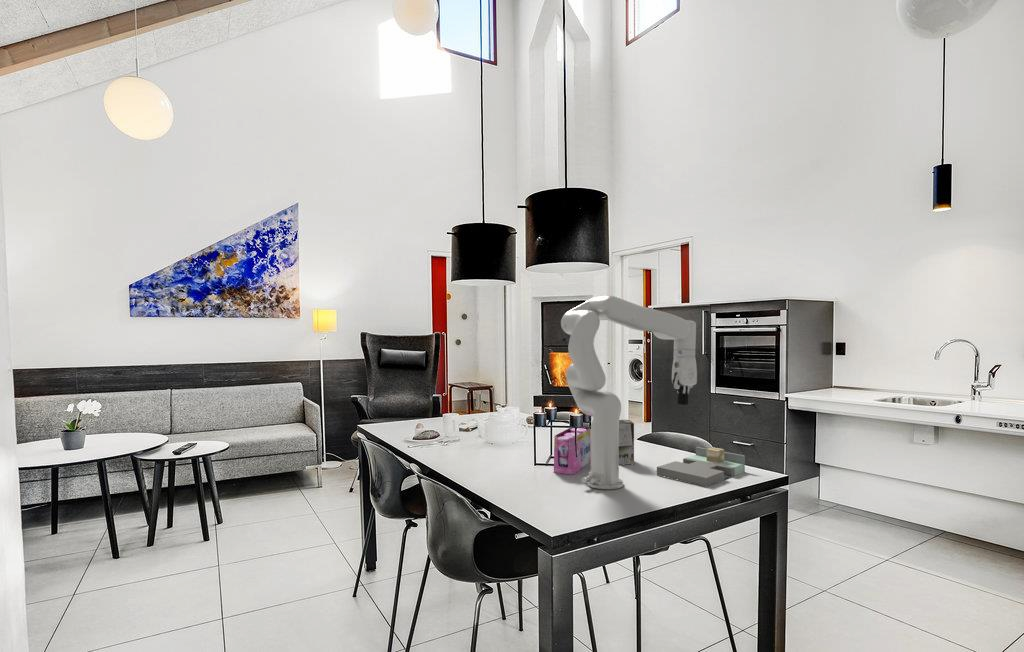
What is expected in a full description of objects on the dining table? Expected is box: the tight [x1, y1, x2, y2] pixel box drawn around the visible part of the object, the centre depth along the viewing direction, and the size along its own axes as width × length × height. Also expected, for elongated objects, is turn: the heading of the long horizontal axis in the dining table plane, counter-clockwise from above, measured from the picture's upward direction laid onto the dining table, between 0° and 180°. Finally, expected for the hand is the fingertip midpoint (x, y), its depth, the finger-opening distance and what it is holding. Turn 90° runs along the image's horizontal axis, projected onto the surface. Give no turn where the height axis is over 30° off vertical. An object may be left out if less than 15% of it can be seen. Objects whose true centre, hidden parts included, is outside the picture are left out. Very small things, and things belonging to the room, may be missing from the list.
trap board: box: [656, 446, 746, 487], centre depth 193 cm, size 28×19×6 cm
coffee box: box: [618, 419, 635, 465], centre depth 211 cm, size 9×6×16 cm
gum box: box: [553, 426, 591, 476], centre depth 203 cm, size 24×8×14 cm, turn 155°
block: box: [706, 446, 725, 463], centre depth 199 cm, size 4×4×4 cm
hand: (682, 404), depth 194 cm, fingers closed
